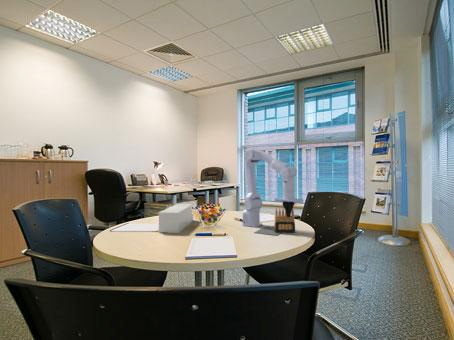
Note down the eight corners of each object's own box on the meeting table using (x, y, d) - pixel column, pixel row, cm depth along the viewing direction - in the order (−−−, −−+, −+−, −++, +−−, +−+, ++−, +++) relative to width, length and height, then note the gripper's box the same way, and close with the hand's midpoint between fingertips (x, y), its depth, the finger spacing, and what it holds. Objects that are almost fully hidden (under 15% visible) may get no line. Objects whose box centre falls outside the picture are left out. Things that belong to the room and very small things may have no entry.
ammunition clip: (275, 232, 132) (275, 208, 133) (274, 231, 133) (274, 208, 135) (295, 232, 133) (295, 208, 134) (294, 231, 135) (293, 208, 136)
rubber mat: (254, 233, 133) (254, 232, 133) (265, 226, 147) (265, 226, 147) (276, 235, 127) (276, 235, 127) (286, 228, 141) (286, 228, 141)
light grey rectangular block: (176, 220, 168) (176, 203, 168) (193, 220, 167) (192, 204, 167) (158, 232, 136) (158, 212, 136) (178, 233, 135) (178, 212, 135)
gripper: (272, 190, 132) (272, 216, 132) (301, 191, 125) (301, 219, 125) (276, 189, 138) (276, 214, 138) (304, 190, 131) (304, 216, 131)
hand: (288, 216), depth 132 cm, fingers closed
